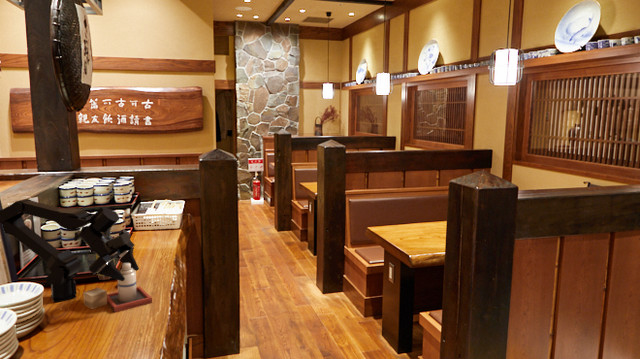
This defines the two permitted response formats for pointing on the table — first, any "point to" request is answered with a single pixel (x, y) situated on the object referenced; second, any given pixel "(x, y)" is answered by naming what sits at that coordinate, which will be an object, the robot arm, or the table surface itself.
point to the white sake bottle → (127, 284)
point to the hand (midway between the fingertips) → (131, 274)
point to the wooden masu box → (95, 298)
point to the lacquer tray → (119, 306)
